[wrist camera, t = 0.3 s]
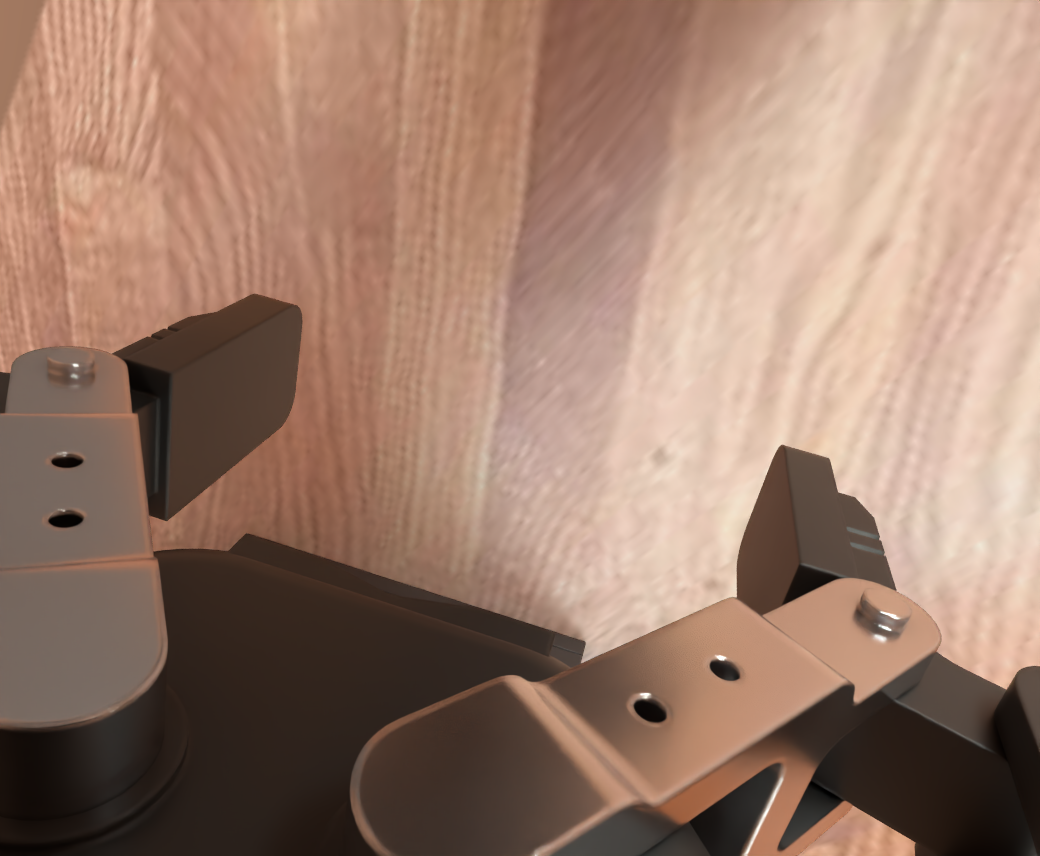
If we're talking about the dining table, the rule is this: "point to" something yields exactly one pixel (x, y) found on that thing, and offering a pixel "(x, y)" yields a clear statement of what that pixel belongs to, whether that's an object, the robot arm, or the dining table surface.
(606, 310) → the dining table surface
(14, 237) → the dining table surface
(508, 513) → the dining table surface
